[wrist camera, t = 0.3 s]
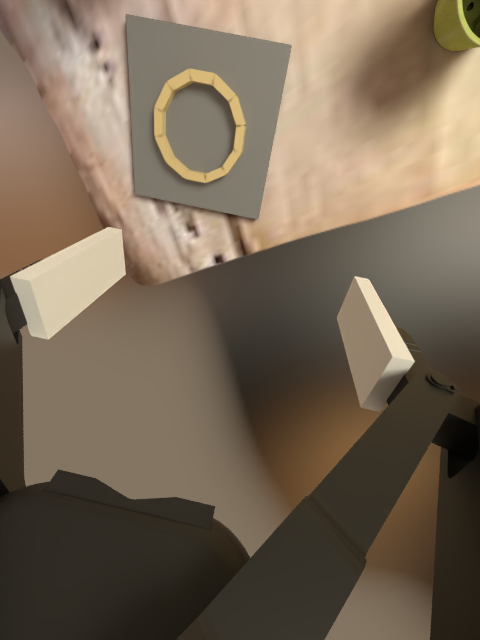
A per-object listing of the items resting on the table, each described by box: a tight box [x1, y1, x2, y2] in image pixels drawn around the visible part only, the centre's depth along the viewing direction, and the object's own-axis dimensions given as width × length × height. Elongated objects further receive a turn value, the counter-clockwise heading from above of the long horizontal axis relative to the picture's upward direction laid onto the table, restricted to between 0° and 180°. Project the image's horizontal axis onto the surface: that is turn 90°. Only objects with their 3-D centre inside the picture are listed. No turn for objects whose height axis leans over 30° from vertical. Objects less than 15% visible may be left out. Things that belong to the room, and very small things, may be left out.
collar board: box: [126, 14, 291, 219], centre depth 34 cm, size 18×18×2 cm
